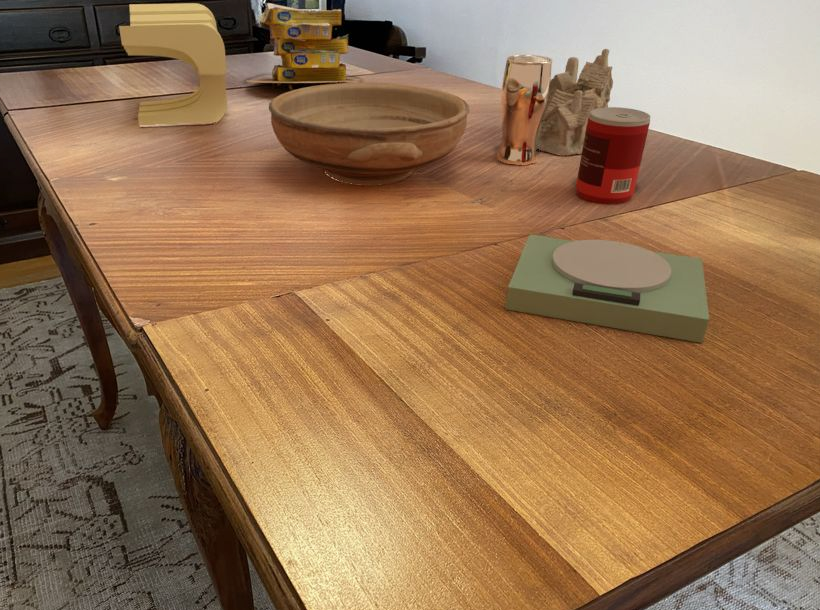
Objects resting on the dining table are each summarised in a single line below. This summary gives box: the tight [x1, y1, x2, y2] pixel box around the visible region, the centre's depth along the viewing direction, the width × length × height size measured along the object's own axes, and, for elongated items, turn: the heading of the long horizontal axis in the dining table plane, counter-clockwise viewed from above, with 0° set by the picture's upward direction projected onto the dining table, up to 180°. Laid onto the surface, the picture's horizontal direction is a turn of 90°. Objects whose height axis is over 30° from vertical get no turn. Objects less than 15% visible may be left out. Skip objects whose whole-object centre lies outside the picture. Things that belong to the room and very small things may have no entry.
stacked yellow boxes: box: [246, 2, 362, 91], centre depth 150 cm, size 25×25×17 cm
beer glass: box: [496, 54, 553, 166], centre depth 107 cm, size 7×7×15 cm
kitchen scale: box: [504, 234, 710, 344], centre depth 72 cm, size 18×14×3 cm
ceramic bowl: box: [268, 81, 470, 186], centre depth 103 cm, size 37×29×10 cm
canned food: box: [575, 106, 651, 205], centre depth 95 cm, size 8×8×11 cm
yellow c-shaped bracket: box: [118, 2, 228, 126], centre depth 128 cm, size 30×16×18 cm, turn 12°
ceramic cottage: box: [536, 48, 614, 156], centre depth 117 cm, size 16×16×15 cm
